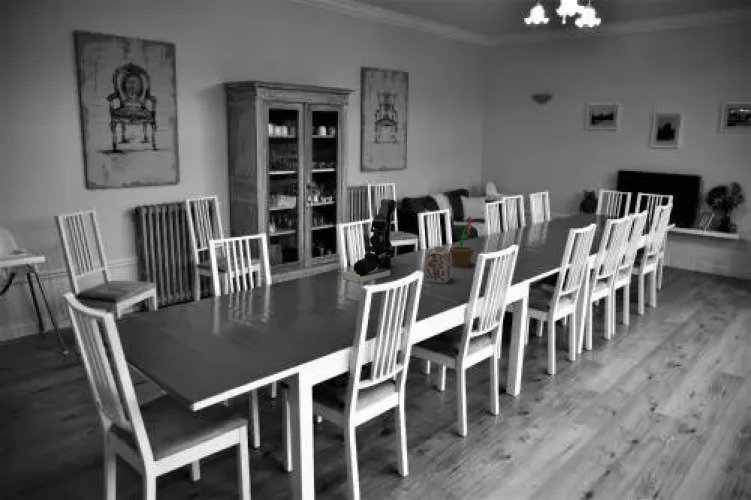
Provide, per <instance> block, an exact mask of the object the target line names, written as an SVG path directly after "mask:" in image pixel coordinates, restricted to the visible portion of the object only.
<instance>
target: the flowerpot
mask: <svg viewBox="0 0 751 500" xmlns="http://www.w3.org/2000/svg"><path fill="white" fill-rule="evenodd" d="M472 220H473V219H472V216H470V215H468V219H467V223H466V226H465V228H464V230H463V231H462V233H461V238H460V241H459V242H458V245H455V246H454V245H453V246H450V247H449V251H450V253H451V265H452V267H454V268H460V269H461V268H462V269H463V268H464V269H465V268H470V265H471V261H472V260H471V259H472V254H474V251H475V250H474V248H473V247H470V246H464V245H463V243H464V242H463V241H464V240H467V238H469V237H470V236H471V230H472V228H473V226H472ZM465 232H466V233H465Z"/></svg>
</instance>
